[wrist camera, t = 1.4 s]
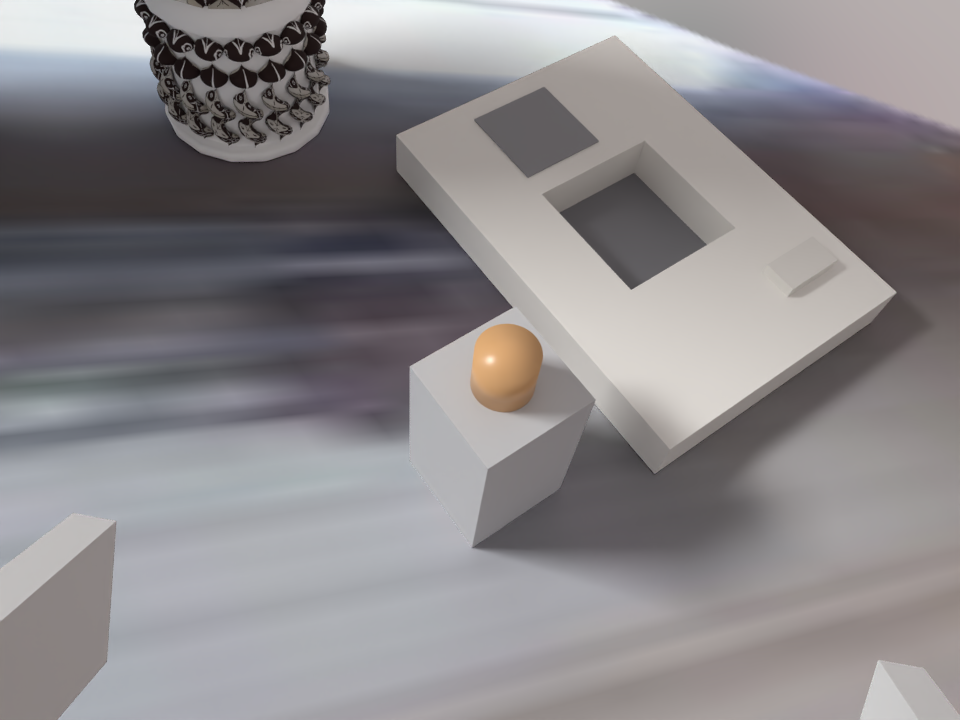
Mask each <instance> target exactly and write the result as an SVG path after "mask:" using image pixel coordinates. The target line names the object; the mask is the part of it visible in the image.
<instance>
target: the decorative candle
mask: <svg viewBox="0 0 960 720" xmlns="http://www.w3.org/2000/svg"><path fill="white" fill-rule="evenodd" d="M324 5H325V0H136V1H135V3H134V8H135V11H136V13H137V14H138V15H139V16H140V17H141V18H143V20H144V23H145V24H146V28H145V29H144V31H143V38H144V40H145V42H146V43H147V44H148V45H149V46H150V47H151V53H152V57H151V60H150V67H151V70H152V72H153V74H154V76H155V77H156V78H157V79H158V80H159V83H158V86H157V91H158V94H159V96H160V98H161V100H162V101H163V102H164V103H165V112H166V115H167V117H168V119H169V121H170V123H171V125H172V127H173V128H174V130H175V132H176V134H177V136H178V137H179V138H181V139H182V140H183V141H185V142H186V143H187V144H189V145H190V146H192V147H193V148H194V149H196V150H197V151H198V152H200V153H201V154H205V155H209V156H212V157H216V158H219V159H223V160H226V161H230V162H264V161H269V160H272V159H275V158H278V157H281V156H284V155H287V154H290V153H293V152H296V151H297V150H299V149H300V148H301V147H302V146H304V145H305V144H306V143H308V142H309V141H310V140H312V139H313V138H314V137H315V136H317V135H318V134H319V132H320V130H321V128H322V126H323V124H324V122H325V120H326V118H327V116H328V114H329V97H328V85H329V84H330V78H329V77H328V76H327V75H324V72H323V71H322V70H319V68H320V67H325V66H326V65H327V62H328V60H329V54H328V52H326V51H324V50H321V49H320V48H321V43H324V42H325V41H326V36H325V33H326V30H327V25H326V22H325V20H324V19H323V18H322V17H321V16H322V14H323V11H324V9H323V7H324Z"/></svg>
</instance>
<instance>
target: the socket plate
mask: <svg viewBox="0 0 960 720" xmlns="http://www.w3.org/2000/svg"><path fill="white" fill-rule="evenodd" d="M396 162H397V172H398V173H399V174H400V175H401V176H402V178H403V179H404V180H405V181H406V182H407V183H408V185H409V186H410V187H411V188H412V189H413V190H414V192H415V193H416V194H417V195H418V196H419V198H420V199H421V200H422V201H423V202H424V203H425V205H426V206H427V207H428V208H429V209H430V210H431V212H432V213H433V214H434V215H435V216H436V218H437V219H438V220H439V221H440V222H441V223H442V225H443V226H444V227H445V228H446V229H447V230H448V232H449V233H450V234H451V235H452V236H453V238H454V239H455V240H456V241H457V242H458V243H459V245H460V246H461V247H462V248H463V249H464V250H465V252H466V253H467V254H468V255H469V256H470V258H471V259H472V260H473V261H474V262H475V263H476V265H477V266H478V267H479V268H480V269H481V270H482V272H483V273H484V274H485V275H486V276H487V278H488V279H489V280H490V281H491V282H492V283H493V285H494V286H495V287H496V288H497V289H498V290H499V292H500V293H501V294H502V295H503V296H504V297H505V299H506V300H507V301H508V302H509V303H510V305H511V306H512V307H513V308H514V307H515V306H516V307H517V308H518V309H519V310H520V311H521V313H522V314H523V315H524V316H525V317H526V318H527V320H528V321H529V322H530V323H531V324H532V326H533V327H534V328H535V329H536V330H537V331H538V333H539V334H540V335H541V336H542V337H543V338H544V340H545V341H546V342H547V343H548V344H549V345H550V347H551V348H552V349H553V350H554V351H555V352H556V354H557V355H558V356H559V357H560V358H561V360H562V361H563V362H564V363H565V364H566V365H567V367H568V368H569V369H570V370H571V371H572V372H573V374H574V375H575V376H576V377H577V378H578V379H579V381H580V382H581V383H582V384H583V385H584V387H585V388H586V389H587V390H588V391H589V392H590V394H591V395H592V396H593V397H594V398H595V399H596V401H595V405H596V406H597V407H598V408H599V409H600V410H601V412H602V413H603V414H604V415H605V416H606V417H607V419H608V420H609V421H610V422H611V423H612V425H613V426H614V427H615V428H616V429H617V430H618V432H619V433H620V434H621V435H622V436H623V437H624V439H625V440H626V441H627V442H628V443H629V445H630V446H631V447H632V448H633V449H634V450H635V452H636V453H637V454H638V455H639V456H640V457H641V459H642V460H643V461H644V462H645V463H646V465H647V466H648V467H649V468H650V469H651V470H652V472H653V473H654V474H655V473H657V472H658V471H660V470H661V469H662V468H664V467H665V466H667V465H668V464H670V463H671V462H672V461H674V460H675V459H677V458H678V457H680V456H681V455H682V454H684V453H685V452H687V451H688V450H690V449H691V448H692V447H694V446H695V445H697V444H698V443H700V442H701V441H702V440H704V439H705V438H707V437H708V436H710V435H711V434H712V433H714V432H715V431H717V430H718V429H720V428H721V427H722V426H724V425H725V424H727V423H728V422H730V421H731V420H732V419H734V418H735V417H737V416H738V415H740V414H741V413H742V412H744V411H745V410H747V409H748V408H750V407H751V406H752V405H754V404H755V403H757V402H758V401H760V400H761V399H762V398H764V397H765V396H767V395H768V394H770V393H771V392H772V391H774V390H775V389H777V388H778V387H780V386H781V385H782V384H784V383H785V382H787V381H788V380H790V379H791V378H792V377H794V376H795V375H797V374H798V373H799V372H801V371H802V370H804V369H805V368H807V367H808V366H809V365H811V364H812V363H814V362H815V361H817V360H818V359H819V358H821V357H822V356H824V355H825V354H827V353H828V352H829V351H831V350H832V349H834V348H835V347H837V346H838V345H839V344H841V343H842V342H844V341H845V340H847V339H848V338H849V337H851V336H852V335H854V334H855V333H857V332H858V331H859V330H861V329H862V328H864V327H865V326H867V325H868V324H869V323H871V322H872V321H873V320H874V318H875V317H876V316H877V315H878V314H879V313H880V311H881V310H882V309H883V308H884V307H885V306H886V304H887V303H888V302H889V301H890V300H891V299H892V297H893V296H894V295H895V294H896V293H897V292H896V291H895V290H894V289H892V288H891V287H890V286H889V285H888V284H887V283H886V282H885V281H884V280H883V279H881V278H880V277H879V276H878V275H877V274H876V273H875V272H874V271H873V270H872V269H871V268H869V267H868V266H867V265H866V264H865V263H864V262H863V261H862V260H861V259H860V258H858V257H857V256H856V255H855V254H854V253H853V252H852V251H851V250H850V249H849V248H847V247H846V246H845V245H844V244H843V243H842V242H841V241H840V240H839V239H838V238H837V237H835V236H834V235H833V234H832V233H831V232H830V231H829V230H828V229H827V228H826V227H824V226H823V225H822V224H821V223H820V222H819V221H818V220H817V219H816V218H815V217H813V216H812V215H811V214H810V213H809V212H808V211H807V210H806V209H805V208H804V207H803V206H801V205H800V204H799V203H798V202H797V201H796V200H795V199H794V198H793V197H792V196H790V195H789V194H788V193H787V192H786V191H785V190H784V189H783V188H782V187H781V186H779V185H778V184H777V183H776V182H775V181H774V180H773V179H772V178H771V177H770V176H769V175H767V174H766V173H765V172H764V171H763V170H762V169H761V168H760V167H759V166H758V165H756V164H755V163H754V162H753V161H752V160H751V159H750V158H749V157H748V156H747V155H745V154H744V153H743V152H742V151H741V150H740V149H739V148H738V147H737V146H736V145H735V144H733V143H732V142H731V141H730V140H729V139H728V138H727V137H726V136H725V135H724V134H722V133H721V132H720V131H719V130H718V129H717V128H716V127H715V126H714V125H713V124H711V123H710V122H709V121H708V120H707V119H706V118H705V117H704V116H703V115H702V114H701V113H699V112H698V111H697V110H696V109H695V108H694V107H693V106H692V105H691V104H690V103H688V102H687V101H686V100H685V99H684V98H683V97H682V96H681V95H680V94H679V93H677V92H676V91H675V90H674V89H673V88H672V87H671V86H670V85H669V84H668V83H667V82H665V81H664V80H663V79H662V78H661V77H660V76H659V75H658V74H657V73H656V72H654V71H653V70H652V69H651V68H650V67H649V66H648V65H647V64H646V63H645V62H643V61H642V60H641V59H640V58H639V57H638V56H637V55H636V54H635V53H634V52H633V51H631V50H630V49H629V48H628V47H627V46H626V45H625V44H624V43H623V42H622V41H620V40H619V39H618V38H617V37H616V36H612V37H610V38H608V39H606V40H604V41H601V42H599V43H597V44H595V45H593V46H591V47H588V48H586V49H584V50H582V51H580V52H577V53H575V54H573V55H571V56H569V57H566V58H564V59H562V60H560V61H558V62H555V63H553V64H551V65H549V66H547V67H544V68H542V69H540V70H538V71H536V72H533V73H531V74H529V75H527V76H525V77H522V78H520V79H518V80H516V81H514V82H511V83H509V84H507V85H505V86H503V87H500V88H498V89H496V90H494V91H492V92H489V93H487V94H485V95H483V96H481V97H478V98H476V99H474V100H472V101H470V102H467V103H465V104H463V105H461V106H459V107H456V108H454V109H452V110H450V111H448V112H445V113H443V114H441V115H439V116H437V117H434V118H432V119H430V120H428V121H426V122H423V123H421V124H419V125H417V126H415V127H412V128H410V129H408V130H406V131H404V132H401V133H399V134H397V135H396Z"/></svg>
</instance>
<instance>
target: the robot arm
mask: <svg viewBox="0 0 960 720" xmlns="http://www.w3.org/2000/svg"><path fill="white" fill-rule="evenodd" d="M115 534H116V521H114V520H108V519H103V518H97V517H92V516H86V515H81V514H75V513H72V514H71V515H70V516H69V517H67V518H66V519H65V520H63V521H62V522H61V523H59V524H58V525H57V526H56V527H54V528H53V529H52V530H50V531H49V532H48V533H46V534H45V535H44V536H43V537H41V538H40V539H39V540H37V541H36V542H35V543H33V544H32V545H31V546H30V547H28V548H27V549H26V550H24V551H23V552H22V553H20V554H19V555H18V556H17V557H15V558H14V559H13V560H11V561H10V562H9V563H7V564H6V565H5V566H4V567H2V568H1V569H0V720H57V719H58V718H59V717H60V716H61V715H62V714H63V712H64V711H65V710H66V709H67V708H68V707H69V705H70V704H71V703H72V702H73V701H74V700H75V698H76V697H77V696H78V695H79V694H80V692H81V691H82V690H83V689H84V688H85V687H86V685H87V684H88V683H89V682H90V681H91V680H92V678H93V677H94V676H95V675H96V674H97V673H98V671H99V670H100V669H101V668H102V667H103V665H104V664H105V663H106V662H107V652H108V638H109V623H110V608H111V593H112V578H113V564H114V549H115ZM860 720H960V715H959V714H958V713H957V711H956V710H955V709H954V707H953V706H952V705H951V703H950V702H949V701H948V699H947V698H946V697H945V695H944V694H943V693H942V691H941V690H940V689H939V687H938V686H937V685H936V683H935V682H934V681H933V679H932V678H931V677H930V675H929V674H928V673H927V672H926V670H925V669H924V668H921V667H915V666H910V665H904V664H899V663H893V662H888V661H882V660H878V663H877V666H876V669H875V672H874V676H873V679H872V682H871V685H870V689H869V692H868V695H867V698H866V701H865V705H864V708H863V711H862V714H861V718H860Z"/></svg>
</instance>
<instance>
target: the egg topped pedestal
mask: <svg viewBox="0 0 960 720" xmlns="http://www.w3.org/2000/svg"><path fill="white" fill-rule="evenodd" d="M595 401H596V399H595V398H594V397H593V396H592V395H591V394H590V392H589V391H588V390H587V389H586V388H585V387H584V385H583V384H582V383H581V382H580V381H579V379H578V378H577V377H576V376H575V375H574V374H573V372H572V371H571V370H570V369H569V368H568V367H567V365H566V364H565V363H564V362H563V361H562V360H561V358H560V357H559V356H558V355H557V354H556V352H555V351H554V350H553V349H552V348H551V347H550V345H549V344H548V343H547V342H546V341H545V340H544V338H543V337H542V336H541V335H540V334H539V333H538V331H537V330H536V329H535V328H534V327H533V326H532V324H531V323H530V322H529V321H528V320H527V318H526V317H525V316H524V315H523V314H522V313H521V311H520V310H519V309H518V308H517V307H516V306H515V307H514V308H512V309H510V310H508V311H507V312H505V313H503V314H501V315H500V316H498V317H496V318H494V319H493V320H491V321H489V322H487V323H485V324H484V325H482V326H480V327H478V328H477V329H475V330H473V331H471V332H470V333H468V334H466V335H464V336H463V337H461V338H459V339H457V340H456V341H454V342H452V343H450V344H449V345H447V346H445V347H443V348H442V349H440V350H438V351H436V352H435V353H433V354H431V355H429V356H427V357H426V358H424V359H422V360H420V361H419V362H417V363H415V364H413V365H412V366H410V463H411V464H412V466H413V467H414V468H415V470H416V471H417V472H418V474H419V475H420V477H421V478H422V479H423V481H424V482H425V484H426V485H427V486H428V488H429V489H430V491H431V492H432V493H433V495H434V496H435V498H436V499H437V500H438V502H439V503H440V505H441V506H442V507H443V509H444V510H445V511H446V513H447V514H448V516H449V517H450V518H451V520H452V521H453V523H454V524H455V525H456V527H457V528H458V530H459V531H460V532H461V534H462V535H463V537H464V538H465V539H466V541H467V542H468V543H469V545H470V546H471V548H473V547H474V546H476V545H477V544H479V543H480V542H482V541H483V540H485V539H486V538H488V537H489V536H491V535H492V534H494V533H495V532H497V531H498V530H499V529H501V528H502V527H504V526H505V525H507V524H508V523H510V522H511V521H513V520H514V519H516V518H517V517H519V516H520V515H522V514H523V513H525V512H526V511H528V510H529V509H531V508H532V507H534V506H535V505H537V504H538V503H540V502H541V501H542V500H544V499H545V498H547V497H548V496H550V495H551V494H553V493H554V492H556V491H557V490H559V489H560V487H561V485H562V482H563V480H564V477H565V475H566V472H567V470H568V467H569V465H570V463H571V460H572V458H573V455H574V453H575V450H576V448H577V445H578V443H579V440H580V438H581V435H582V433H583V430H584V428H585V425H586V423H587V421H588V418H589V416H590V413H591V411H592V408H593V406H594V403H595Z"/></svg>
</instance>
